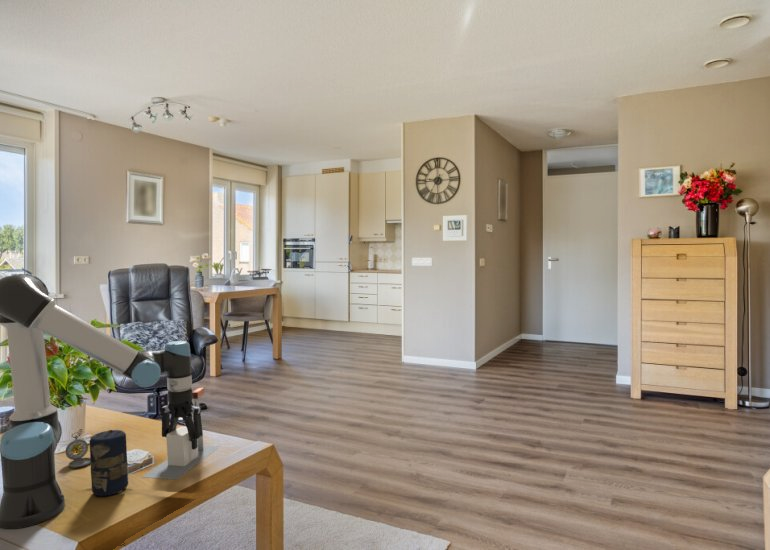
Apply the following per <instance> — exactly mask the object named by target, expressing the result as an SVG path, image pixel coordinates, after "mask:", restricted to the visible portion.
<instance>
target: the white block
mask: <svg viewBox="0 0 770 550" xmlns="http://www.w3.org/2000/svg"><path fill="white" fill-rule="evenodd" d="M166 437H167V438H166ZM166 437H165V438H166V451H167V454H166V455H167V459H168V465H173V466H186V465H187V464H188V463H190V462H191V461H192V460H194V459H195V458H197V457H198V439H197V448H196V457H195V458H194V459H192V460H189V444H188V441H189V440H190V436H189V433H188V430H187V427H186V425H185V426H184V425H180V426H179V427H178V428H177V427H176V429H175V430H174V431H172V432H170V433H169V434H167V435H166Z"/></svg>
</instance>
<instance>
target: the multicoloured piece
mask: <svg viewBox="0 0 770 550" xmlns="http://www.w3.org/2000/svg"><path fill="white" fill-rule="evenodd" d="M192 394H193V399H192V403H193V405H194V406H195V407H200V398H201V397H202V396H203V395H205V387H198V388H197V389H195V390H194V391H192ZM192 420H193V416H192ZM201 420H202V421H203V415H201ZM183 422H184V423H185V421H183V418H181V417H179V419H178V423H183ZM193 422H194V420H193Z"/></svg>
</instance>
